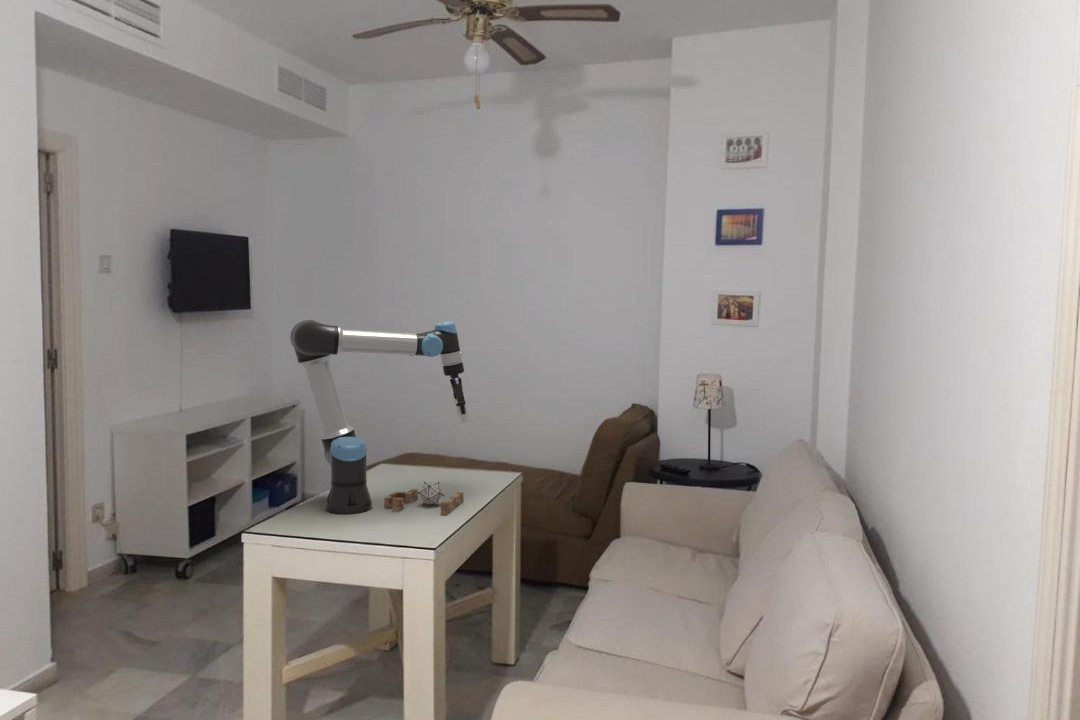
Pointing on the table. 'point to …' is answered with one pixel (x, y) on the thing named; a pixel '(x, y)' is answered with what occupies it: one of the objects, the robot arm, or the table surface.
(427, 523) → the table surface
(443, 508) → the wooden blocks
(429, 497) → the game die
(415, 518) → the table surface
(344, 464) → the robot arm
